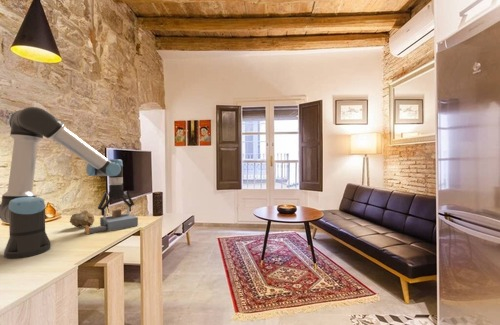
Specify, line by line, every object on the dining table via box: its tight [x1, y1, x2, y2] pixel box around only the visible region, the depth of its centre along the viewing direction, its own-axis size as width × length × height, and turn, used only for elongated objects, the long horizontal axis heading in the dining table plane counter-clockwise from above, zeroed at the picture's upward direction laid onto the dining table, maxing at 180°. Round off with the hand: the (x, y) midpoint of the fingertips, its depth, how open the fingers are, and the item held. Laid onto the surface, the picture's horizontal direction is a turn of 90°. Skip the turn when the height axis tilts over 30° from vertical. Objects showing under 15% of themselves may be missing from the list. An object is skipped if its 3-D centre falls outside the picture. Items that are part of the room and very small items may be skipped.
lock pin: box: [84, 225, 108, 235], centre depth 140 cm, size 14×4×4 cm, turn 134°
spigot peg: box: [111, 208, 122, 218], centre depth 154 cm, size 4×4×9 cm
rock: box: [69, 209, 95, 228], centre depth 150 cm, size 12×10×10 cm
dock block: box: [99, 213, 139, 232], centre depth 151 cm, size 16×17×5 cm
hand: (116, 218), depth 154 cm, fingers open, 13 cm apart
